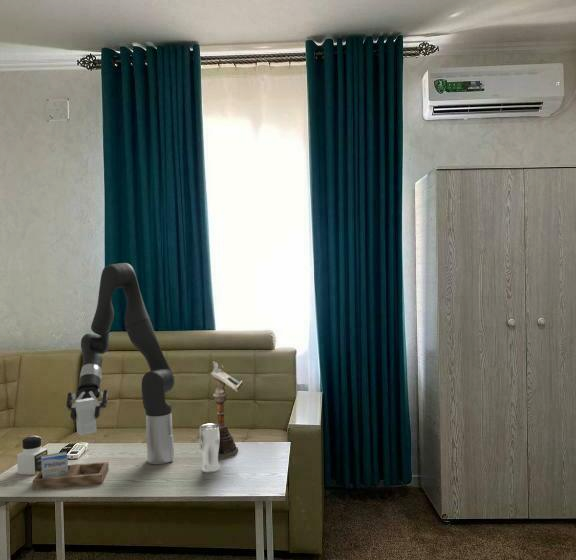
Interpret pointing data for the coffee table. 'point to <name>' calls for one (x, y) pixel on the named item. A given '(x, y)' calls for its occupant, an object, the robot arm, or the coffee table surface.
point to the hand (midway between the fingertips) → (84, 418)
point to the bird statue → (226, 440)
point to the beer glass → (209, 447)
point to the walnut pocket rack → (74, 476)
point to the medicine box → (54, 465)
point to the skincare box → (85, 416)
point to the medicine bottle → (31, 456)
